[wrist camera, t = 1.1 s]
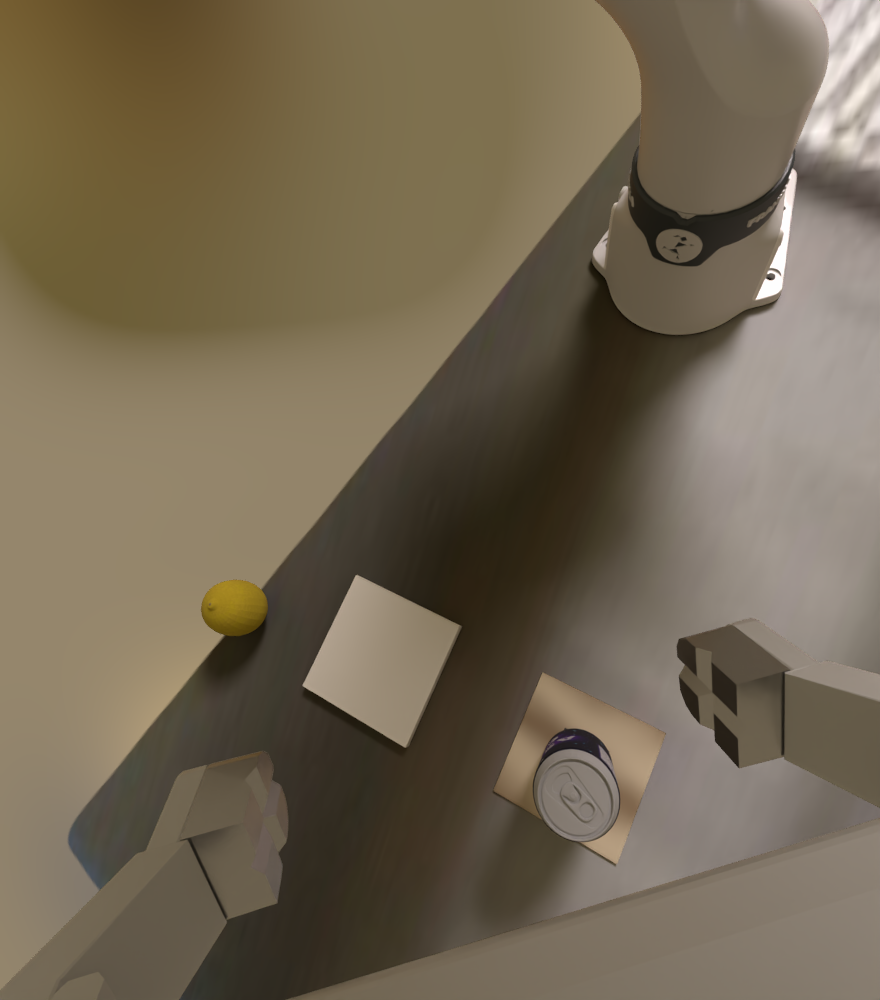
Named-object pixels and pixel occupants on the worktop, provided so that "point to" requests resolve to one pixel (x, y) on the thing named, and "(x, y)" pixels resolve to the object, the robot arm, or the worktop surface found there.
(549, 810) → the beverage can
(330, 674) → the mat
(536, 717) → the pad
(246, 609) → the lemon
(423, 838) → the worktop surface
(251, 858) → the robot arm
